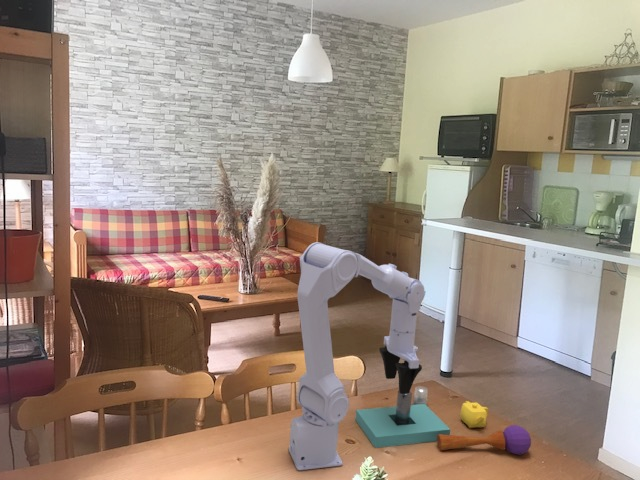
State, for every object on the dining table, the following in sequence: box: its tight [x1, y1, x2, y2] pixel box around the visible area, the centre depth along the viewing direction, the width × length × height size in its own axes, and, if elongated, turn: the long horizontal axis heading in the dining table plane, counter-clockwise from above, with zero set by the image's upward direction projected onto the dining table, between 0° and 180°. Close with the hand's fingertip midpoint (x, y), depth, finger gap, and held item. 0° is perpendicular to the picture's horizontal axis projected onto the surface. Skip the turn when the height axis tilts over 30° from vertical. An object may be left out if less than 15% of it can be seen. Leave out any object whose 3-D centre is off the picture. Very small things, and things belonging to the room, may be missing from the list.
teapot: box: [459, 400, 489, 429], centre depth 125 cm, size 8×6×5 cm
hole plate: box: [354, 404, 451, 449], centre depth 121 cm, size 18×12×2 cm, turn 107°
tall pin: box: [395, 390, 413, 426], centre depth 120 cm, size 3×3×9 cm
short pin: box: [412, 385, 429, 406], centre depth 133 cm, size 3×3×4 cm
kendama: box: [436, 424, 532, 455], centre depth 115 cm, size 6×6×20 cm
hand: (397, 385), depth 121 cm, fingers open, 7 cm apart
